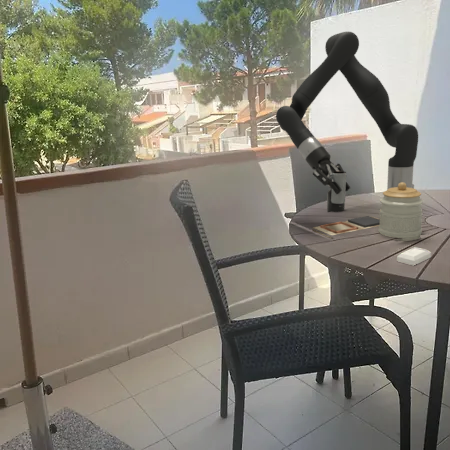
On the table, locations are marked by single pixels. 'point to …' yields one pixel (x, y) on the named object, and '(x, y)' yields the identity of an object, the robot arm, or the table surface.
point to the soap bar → (414, 256)
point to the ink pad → (365, 221)
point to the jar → (401, 213)
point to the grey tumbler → (341, 181)
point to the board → (339, 228)
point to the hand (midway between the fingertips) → (343, 190)
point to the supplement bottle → (333, 204)
